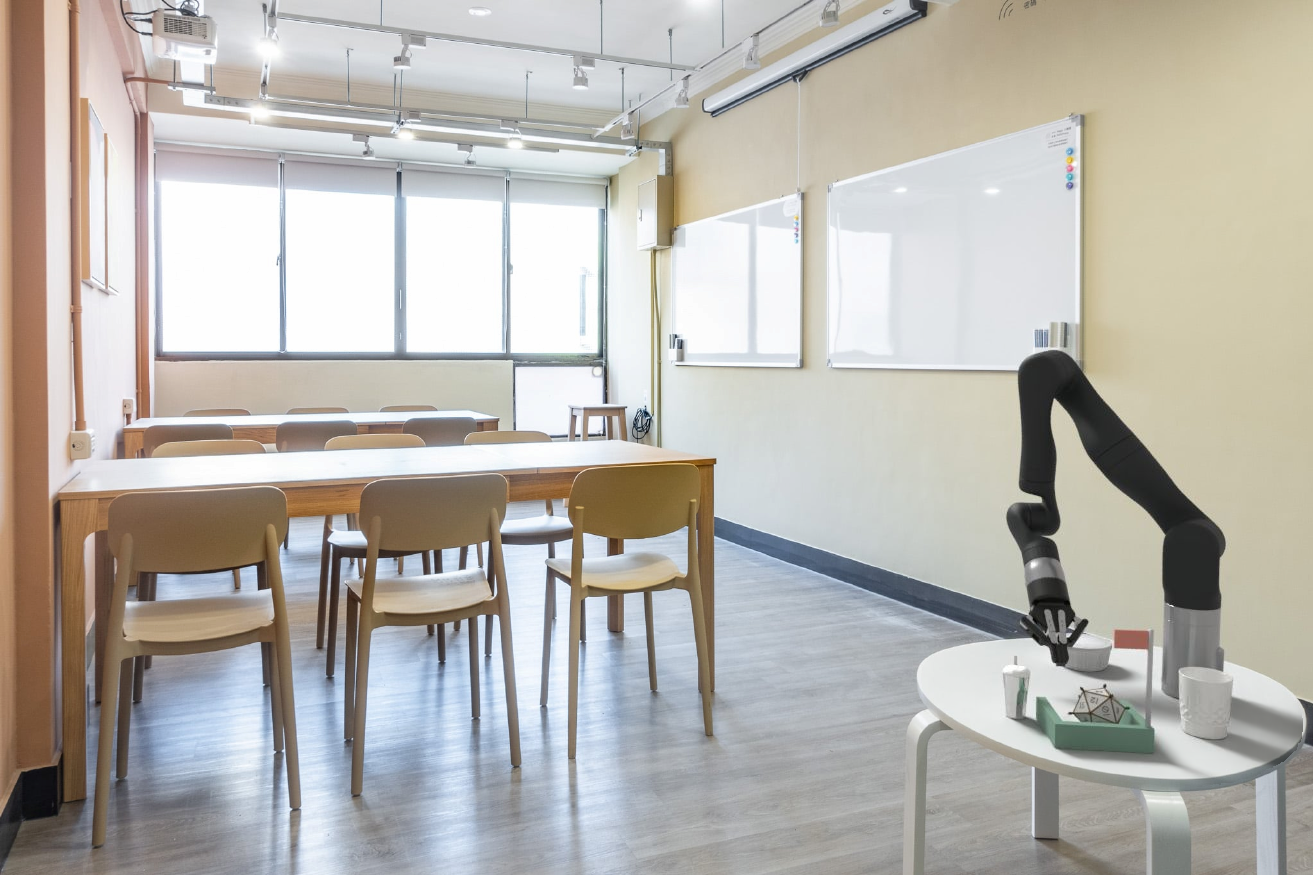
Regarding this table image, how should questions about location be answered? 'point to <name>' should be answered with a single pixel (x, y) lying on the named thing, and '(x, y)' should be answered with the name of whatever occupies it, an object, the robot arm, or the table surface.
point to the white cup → (1205, 702)
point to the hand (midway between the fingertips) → (1061, 664)
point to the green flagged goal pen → (1107, 736)
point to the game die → (1098, 707)
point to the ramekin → (1089, 653)
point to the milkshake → (1016, 689)
